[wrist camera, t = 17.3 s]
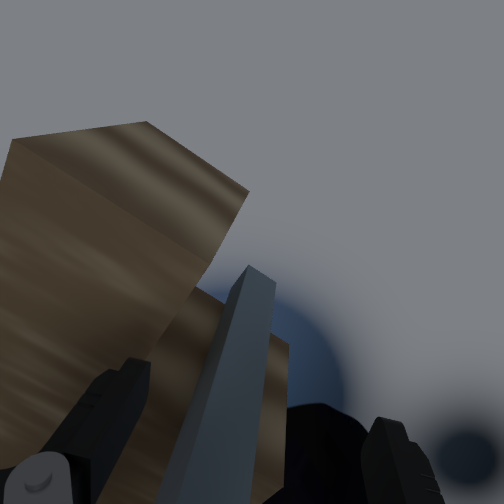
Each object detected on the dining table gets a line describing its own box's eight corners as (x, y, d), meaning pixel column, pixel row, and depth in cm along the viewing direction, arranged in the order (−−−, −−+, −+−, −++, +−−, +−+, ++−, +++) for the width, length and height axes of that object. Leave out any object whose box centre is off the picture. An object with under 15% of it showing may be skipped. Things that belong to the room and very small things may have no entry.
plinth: (35, 360, 40) (146, 121, 27) (192, 446, 43) (361, 267, 30) (-87, 480, 27) (12, 139, 14) (148, 591, 30) (407, 390, 17)
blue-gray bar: (231, 287, 36) (248, 264, 35) (258, 304, 37) (276, 282, 35) (141, 538, 16) (175, 506, 14) (205, 570, 16) (244, 542, 15)
